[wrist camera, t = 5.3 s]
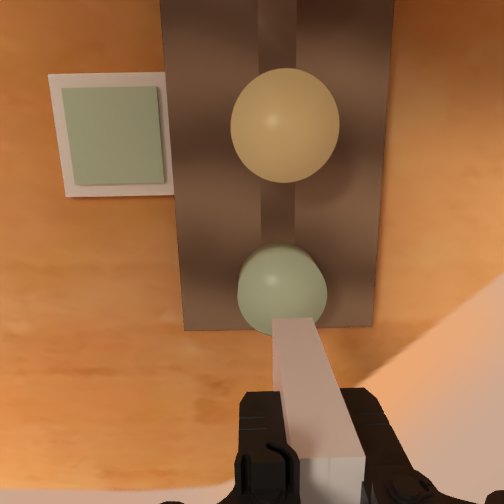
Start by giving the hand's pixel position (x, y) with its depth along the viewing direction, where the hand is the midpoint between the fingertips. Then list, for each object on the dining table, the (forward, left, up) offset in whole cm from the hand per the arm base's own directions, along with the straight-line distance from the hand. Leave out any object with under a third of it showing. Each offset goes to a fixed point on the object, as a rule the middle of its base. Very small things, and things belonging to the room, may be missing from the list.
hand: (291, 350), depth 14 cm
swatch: (-8, -9, -11) cm, 17 cm away
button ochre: (-8, 0, -9) cm, 12 cm away
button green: (0, 0, -11) cm, 11 cm away
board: (-8, 0, -11) cm, 14 cm away
